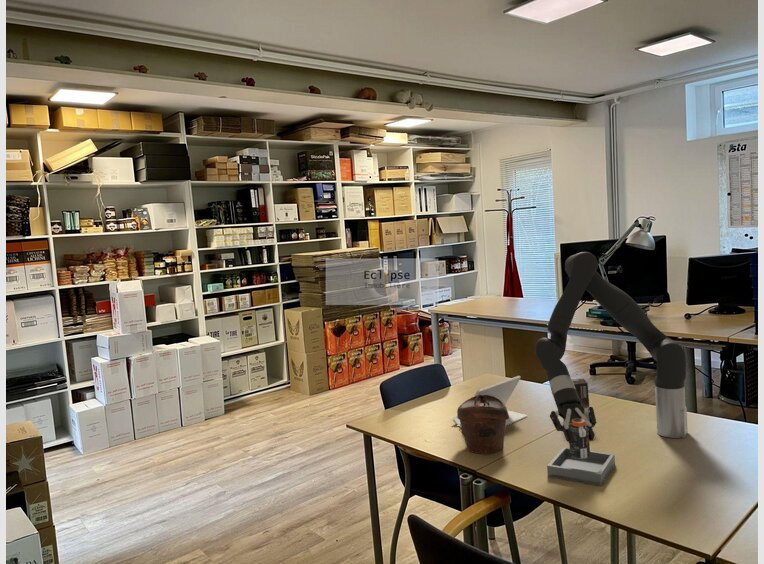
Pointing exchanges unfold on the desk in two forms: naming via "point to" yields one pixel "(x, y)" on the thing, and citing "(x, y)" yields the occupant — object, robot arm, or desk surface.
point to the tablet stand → (501, 397)
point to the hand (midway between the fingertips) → (581, 440)
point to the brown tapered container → (483, 423)
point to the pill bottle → (579, 439)
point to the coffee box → (582, 394)
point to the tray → (581, 467)
